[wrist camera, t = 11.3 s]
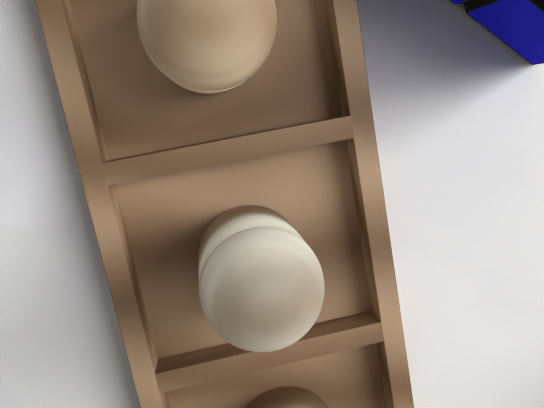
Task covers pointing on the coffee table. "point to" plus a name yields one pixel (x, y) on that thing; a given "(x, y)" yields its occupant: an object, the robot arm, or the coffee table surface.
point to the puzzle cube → (512, 24)
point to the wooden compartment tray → (234, 201)
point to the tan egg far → (288, 399)
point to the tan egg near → (207, 40)
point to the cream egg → (258, 279)
